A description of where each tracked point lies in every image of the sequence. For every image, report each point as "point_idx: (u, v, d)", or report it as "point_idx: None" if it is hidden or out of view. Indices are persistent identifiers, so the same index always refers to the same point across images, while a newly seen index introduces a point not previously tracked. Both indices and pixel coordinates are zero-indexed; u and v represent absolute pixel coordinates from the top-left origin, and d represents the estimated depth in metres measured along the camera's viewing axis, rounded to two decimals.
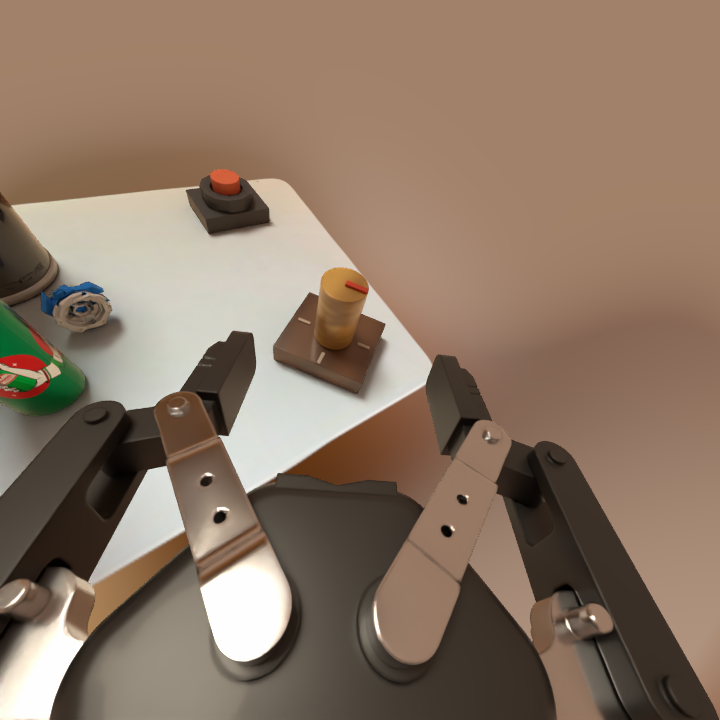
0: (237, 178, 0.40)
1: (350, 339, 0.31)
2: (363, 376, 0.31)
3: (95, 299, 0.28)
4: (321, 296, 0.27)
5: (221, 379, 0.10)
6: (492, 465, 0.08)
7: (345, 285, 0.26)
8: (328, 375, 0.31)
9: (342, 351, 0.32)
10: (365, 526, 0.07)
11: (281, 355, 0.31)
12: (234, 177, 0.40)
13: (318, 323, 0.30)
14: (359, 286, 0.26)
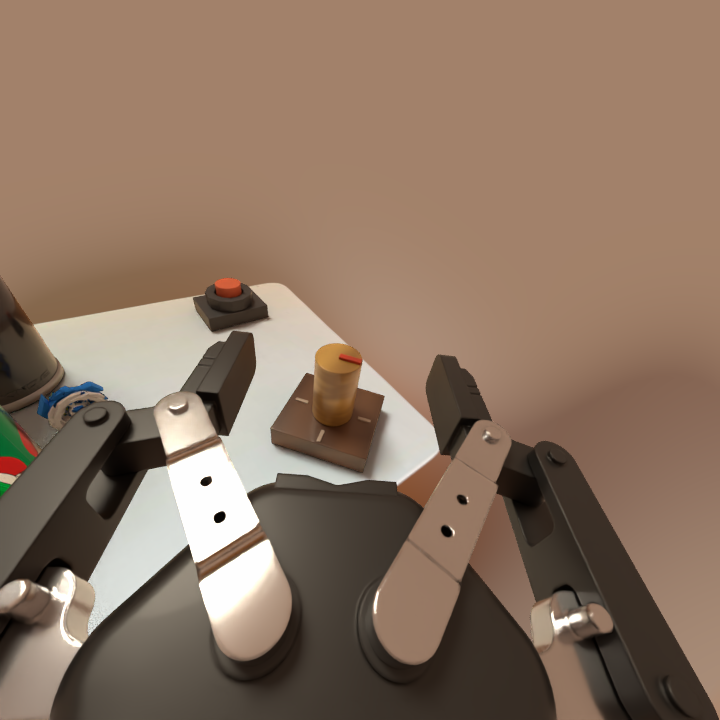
0: (238, 283, 0.45)
1: (349, 413, 0.31)
2: (367, 451, 0.29)
3: (93, 397, 0.28)
4: (316, 371, 0.27)
5: (221, 379, 0.10)
6: (492, 465, 0.08)
7: (339, 358, 0.27)
8: (329, 454, 0.29)
9: (342, 427, 0.31)
10: (365, 526, 0.07)
11: (279, 437, 0.30)
12: (236, 283, 0.45)
13: (315, 399, 0.29)
14: (352, 358, 0.27)
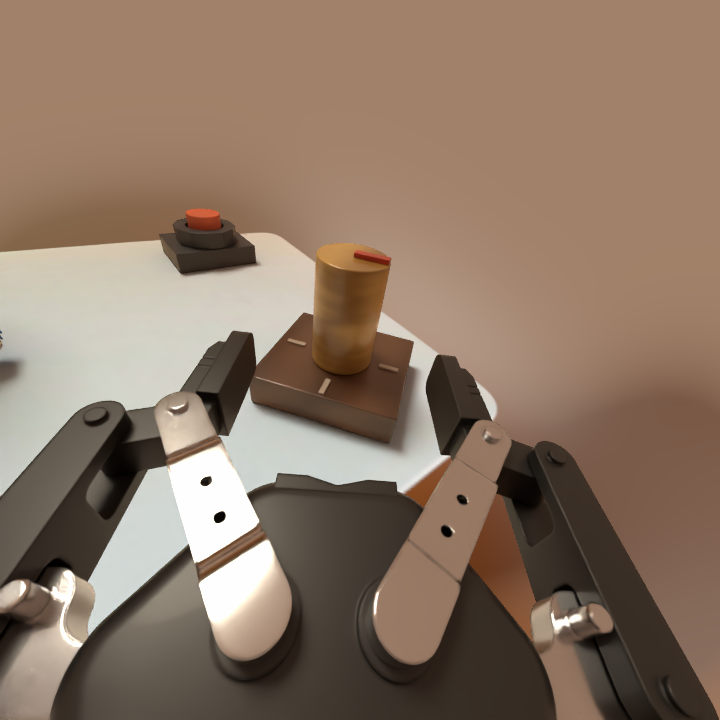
0: (217, 214, 0.35)
1: (368, 356, 0.20)
2: (396, 409, 0.19)
3: None
4: (318, 276, 0.17)
5: (221, 379, 0.10)
6: (493, 465, 0.08)
7: (354, 256, 0.17)
8: (339, 415, 0.19)
9: (356, 376, 0.20)
10: (365, 526, 0.07)
11: (262, 391, 0.20)
12: (214, 213, 0.35)
13: (316, 331, 0.19)
14: (376, 255, 0.17)
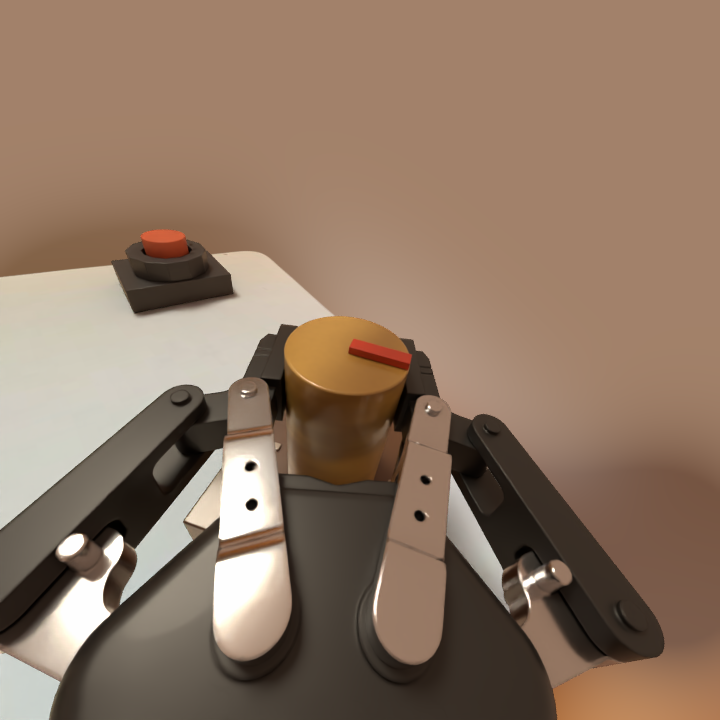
0: (182, 237, 0.28)
1: (371, 479, 0.13)
2: None
3: None
4: (288, 386, 0.10)
5: (280, 367, 0.10)
6: (441, 436, 0.09)
7: (349, 351, 0.10)
8: None
9: None
10: (365, 526, 0.07)
11: None
12: (178, 236, 0.28)
13: (290, 452, 0.12)
14: (386, 350, 0.10)
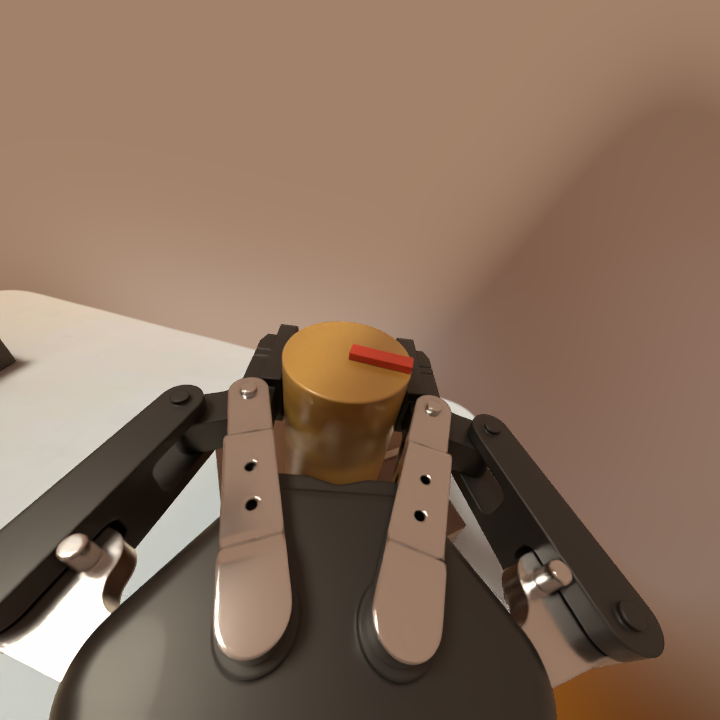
0: None
1: None
2: (453, 508, 0.14)
3: None
4: (287, 396, 0.10)
5: (280, 367, 0.10)
6: (441, 436, 0.09)
7: (349, 358, 0.10)
8: None
9: None
10: (365, 526, 0.07)
11: None
12: None
13: (290, 464, 0.12)
14: (388, 355, 0.10)
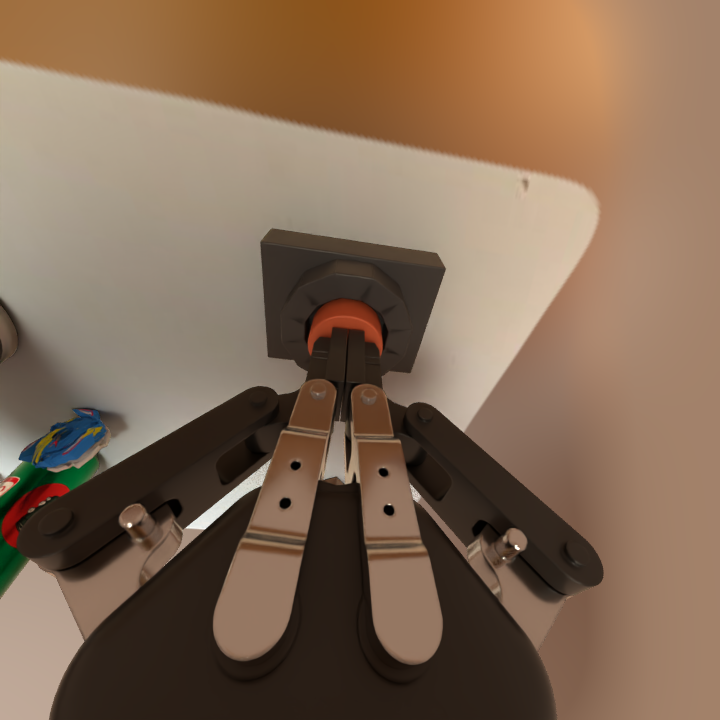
0: None
1: None
2: None
3: None
4: None
5: (341, 369, 0.11)
6: (384, 422, 0.09)
7: None
8: None
9: None
10: None
11: None
12: None
13: None
14: None
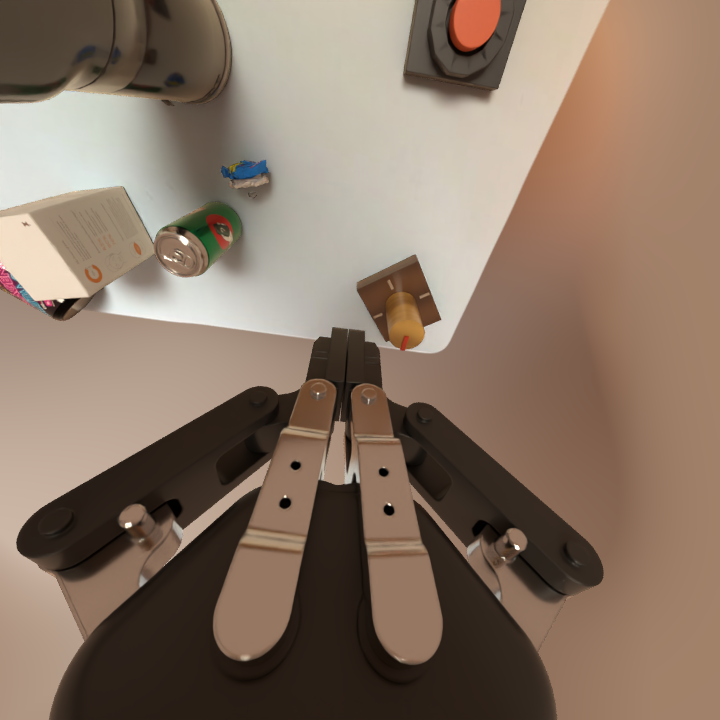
0: (489, 33, 0.24)
1: None
2: None
3: None
4: (397, 318, 0.36)
5: (341, 369, 0.11)
6: (384, 422, 0.09)
7: (404, 336, 0.36)
8: None
9: None
10: None
11: None
12: (488, 28, 0.23)
13: (393, 304, 0.39)
14: (404, 345, 0.37)
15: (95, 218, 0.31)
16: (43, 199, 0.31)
